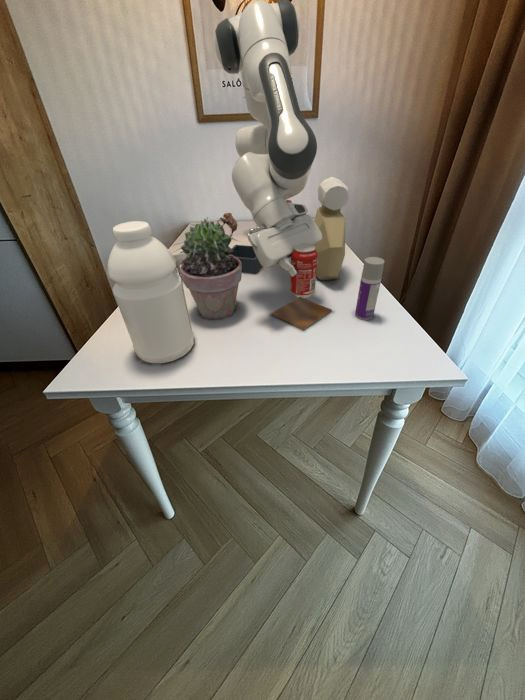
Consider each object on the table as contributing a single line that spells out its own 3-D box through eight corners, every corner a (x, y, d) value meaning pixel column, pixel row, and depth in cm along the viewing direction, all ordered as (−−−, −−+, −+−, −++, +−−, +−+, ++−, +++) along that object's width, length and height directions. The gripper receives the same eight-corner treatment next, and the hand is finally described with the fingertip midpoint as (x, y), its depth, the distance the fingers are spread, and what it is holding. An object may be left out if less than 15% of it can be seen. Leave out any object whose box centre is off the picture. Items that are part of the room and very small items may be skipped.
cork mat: (299, 298, 90) (299, 296, 90) (331, 311, 84) (331, 309, 83) (271, 314, 84) (271, 312, 83) (303, 330, 77) (303, 328, 77)
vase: (335, 257, 112) (345, 169, 95) (351, 288, 94) (367, 185, 76) (302, 259, 113) (306, 171, 95) (311, 290, 94) (318, 187, 76)
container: (351, 312, 83) (360, 258, 74) (366, 309, 84) (376, 255, 75) (361, 321, 79) (372, 265, 70) (377, 317, 81) (389, 262, 71)
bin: (236, 257, 116) (235, 244, 113) (266, 260, 113) (266, 247, 110) (224, 270, 107) (222, 256, 104) (256, 273, 104) (255, 259, 101)
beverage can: (304, 285, 83) (306, 240, 76) (319, 294, 79) (323, 247, 72) (285, 291, 81) (285, 246, 73) (300, 301, 77) (302, 254, 69)
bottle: (199, 328, 80) (176, 213, 62) (189, 363, 69) (158, 236, 51) (145, 330, 80) (107, 216, 63) (126, 365, 69) (75, 239, 52)
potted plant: (167, 311, 87) (143, 218, 72) (224, 288, 97) (214, 202, 81) (200, 338, 76) (180, 236, 61) (261, 310, 86) (257, 215, 70)
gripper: (250, 223, 67) (284, 278, 67) (309, 203, 78) (337, 251, 78) (238, 239, 72) (269, 290, 73) (295, 219, 83) (321, 263, 84)
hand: (305, 269), depth 76 cm, fingers closed on beverage can, 6 cm apart
